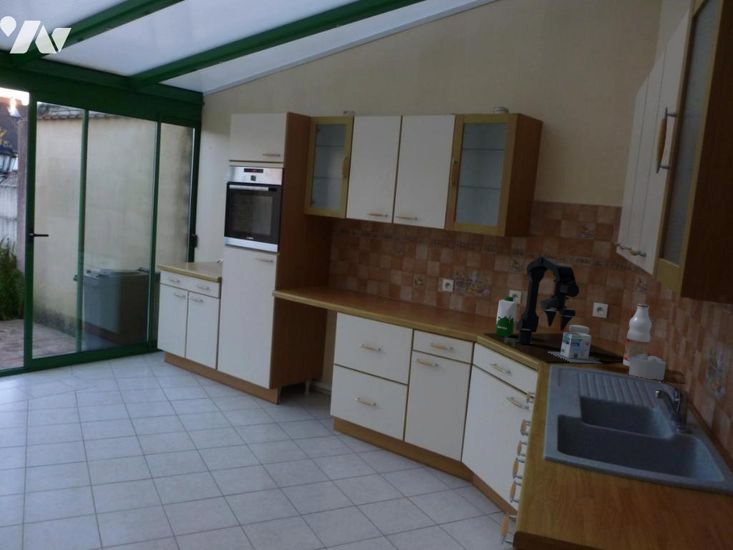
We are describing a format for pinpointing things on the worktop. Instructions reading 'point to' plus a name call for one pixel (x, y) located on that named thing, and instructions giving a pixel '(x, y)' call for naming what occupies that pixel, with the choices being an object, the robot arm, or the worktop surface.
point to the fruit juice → (638, 334)
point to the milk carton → (506, 317)
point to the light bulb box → (575, 345)
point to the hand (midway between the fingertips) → (555, 328)
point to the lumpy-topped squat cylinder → (647, 367)
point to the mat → (575, 359)
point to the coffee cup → (579, 329)
